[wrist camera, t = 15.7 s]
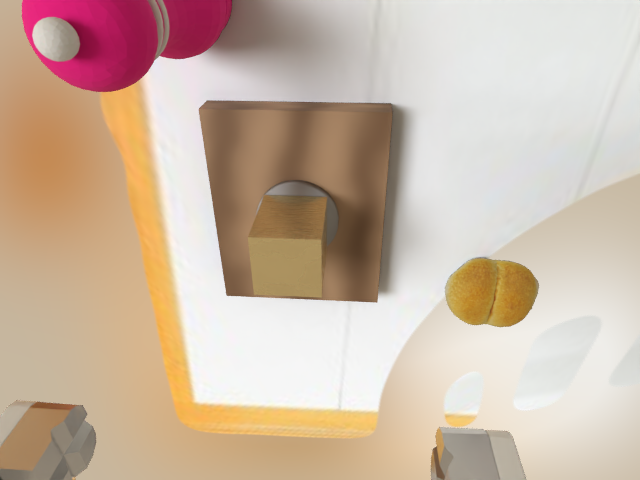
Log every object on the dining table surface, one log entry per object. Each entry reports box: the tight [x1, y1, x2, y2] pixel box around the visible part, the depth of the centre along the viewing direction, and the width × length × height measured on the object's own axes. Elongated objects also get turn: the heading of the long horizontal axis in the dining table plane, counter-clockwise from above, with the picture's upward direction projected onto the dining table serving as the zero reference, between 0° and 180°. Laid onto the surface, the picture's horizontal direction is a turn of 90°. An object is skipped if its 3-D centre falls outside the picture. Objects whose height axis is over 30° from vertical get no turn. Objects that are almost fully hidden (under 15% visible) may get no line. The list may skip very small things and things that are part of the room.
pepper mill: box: [22, 0, 232, 92], centre depth 27 cm, size 7×7×20 cm
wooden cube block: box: [248, 195, 327, 298], centre depth 39 cm, size 6×6×7 cm
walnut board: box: [199, 101, 393, 302], centre depth 41 cm, size 16×20×10 cm
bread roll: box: [445, 258, 539, 327], centre depth 47 cm, size 8×9×4 cm
